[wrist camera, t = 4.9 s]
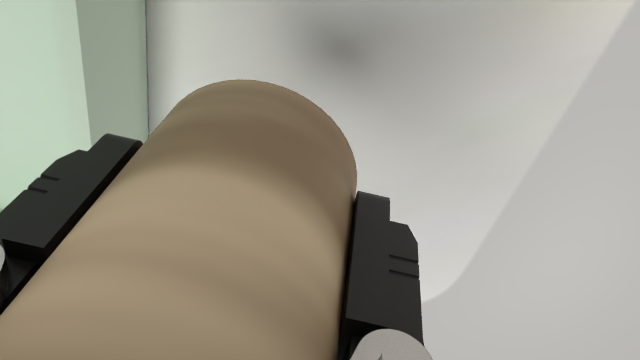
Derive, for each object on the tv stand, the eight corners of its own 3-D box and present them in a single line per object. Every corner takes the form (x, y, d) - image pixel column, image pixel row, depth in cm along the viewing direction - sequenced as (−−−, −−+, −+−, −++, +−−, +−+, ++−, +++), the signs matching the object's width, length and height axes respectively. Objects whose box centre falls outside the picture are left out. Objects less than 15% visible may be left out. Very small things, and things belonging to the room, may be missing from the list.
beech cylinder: (155, 56, 10) (-132, 315, 5) (380, 107, 10) (361, 427, 5) (159, 225, 13) (-15, 509, 8) (334, 265, 13) (289, 577, 8)
